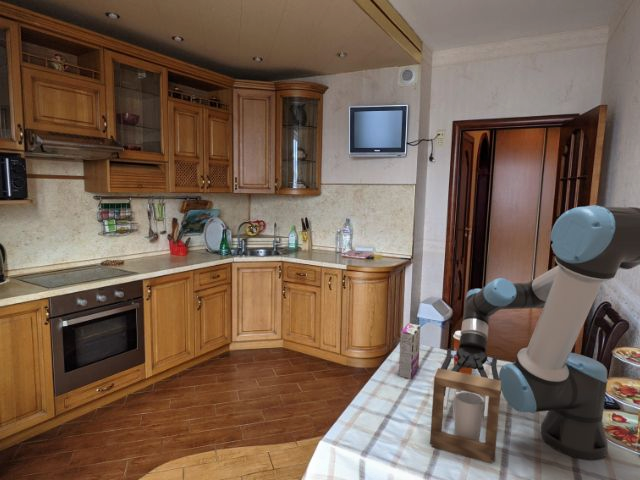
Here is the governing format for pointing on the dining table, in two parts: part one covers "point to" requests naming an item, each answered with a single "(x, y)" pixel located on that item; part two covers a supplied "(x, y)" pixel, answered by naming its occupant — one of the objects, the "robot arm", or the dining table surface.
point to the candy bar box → (409, 351)
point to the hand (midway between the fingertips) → (464, 412)
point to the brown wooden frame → (493, 391)
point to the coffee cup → (456, 347)
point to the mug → (467, 415)
